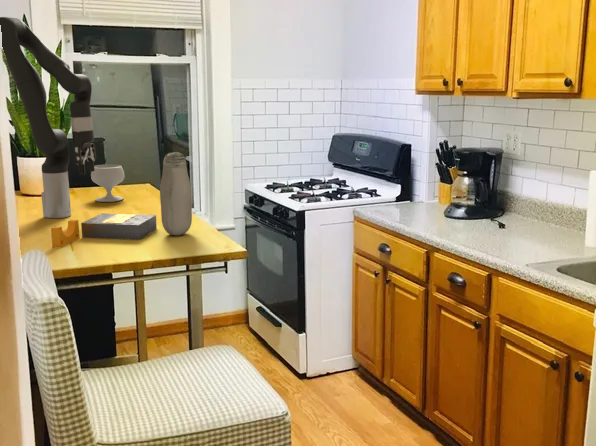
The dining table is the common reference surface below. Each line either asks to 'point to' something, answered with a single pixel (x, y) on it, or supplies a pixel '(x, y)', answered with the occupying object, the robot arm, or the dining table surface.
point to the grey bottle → (175, 195)
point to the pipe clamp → (65, 234)
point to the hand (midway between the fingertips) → (87, 173)
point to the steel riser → (119, 226)
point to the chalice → (108, 180)
